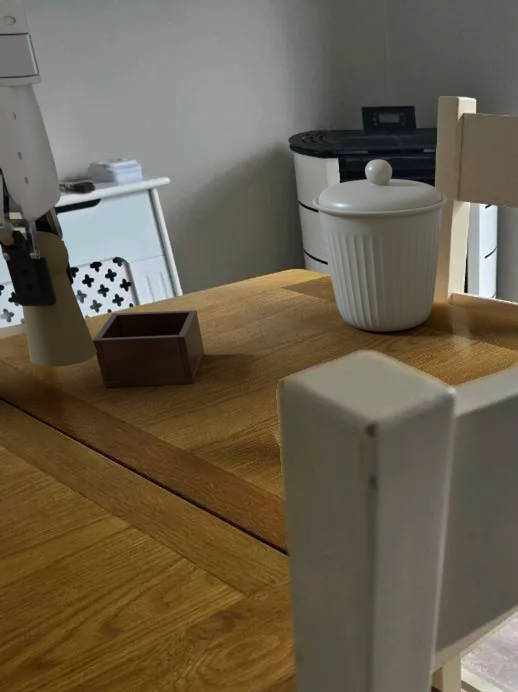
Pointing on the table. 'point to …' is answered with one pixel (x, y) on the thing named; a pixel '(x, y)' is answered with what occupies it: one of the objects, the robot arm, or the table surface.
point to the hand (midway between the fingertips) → (47, 292)
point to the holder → (149, 348)
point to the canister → (382, 248)
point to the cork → (57, 315)
